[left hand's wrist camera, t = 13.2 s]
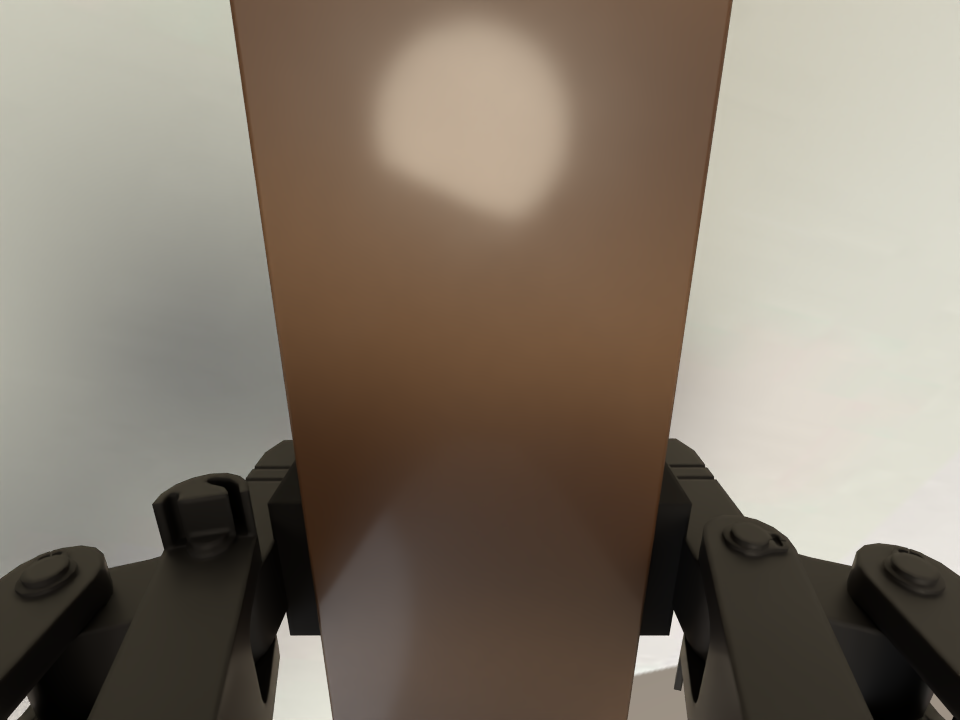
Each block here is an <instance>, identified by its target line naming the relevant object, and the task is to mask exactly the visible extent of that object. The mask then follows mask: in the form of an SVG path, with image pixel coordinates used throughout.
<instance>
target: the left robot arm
mask: <svg viewBox="0 0 960 720" xmlns="http://www.w3.org/2000/svg"><path fill="white" fill-rule="evenodd" d="M152 506H153V510H154V513H155V517H156V521H157V524H158V528H159V532H160V536H161V539H162V543H163V547H164V551H163V554H162V556H161V557H157V558H153V559H150V560H145V561H141V562H136V563H131V564H127V565H122V566H117V567H113V568H108V566H107V563H106V560H105V557H104V554H103V553H102V552H100V551H99V550H98V549H97V548H95V547H88V546H74V547H66V548H61V549H57V550H53V551H51V552H47V553H44V554H41V555H39V556H37V557H35V558H33V559H31V560H29V561H27V562H25V563H23V564H21V565H19V566H18V567H16V568H15V569H14V570H12V571H11V572H9V573H8V574H7V575H5V576H4V577H2V578H1V579H0V720H7V718H8V717H9V716H10V715H11V714H12V712H13V711H14V710H15V709H16V708H17V707H18V705H19V704H20V703H21V702H22V701H23V699H24V698H25V697H26V696H27V697H28V699H29V702H30V704H31V705H30V706H29V707H28V708H27V710H26V711H25V712H24V713H23V715H22V716H21V717H20V718H18V719H17V720H272V719H273V711H274V702H275V694H276V685H277V677H278V668H279V660H280V654H279V646H278V641H277V635H276V634H277V631H278V629H279V627H280V625H281V622H282V620H283V618H284V615H285V613H287V619H288V625H289V630H290V635H321V634H320V627H319V620H318V613H317V606H316V599H315V592H314V585H313V578H312V571H311V564H310V557H309V550H308V543H307V536H306V529H305V522H304V515H303V508H302V501H301V494H300V487H299V480H298V473H297V466H296V459H295V452H294V445H293V440H283V441H282V442H280V443H279V444H277V445H276V446H274V447H273V448H271V449H270V450H268V451H267V452H265V454H264V455H263V456H262V458H261V459H260V460H259V462H258V463H257V464H256V466H255V469H253V470H252V471H251V472H250V474H249V475H248V476H247V478H246V480H244V479H243V478H242V477H241V476H238V475H233V474H229V473H216V474H207V475H203V476H198V477H194V478H191V479H189V480H186V481H184V482H181V483H179V484H176V485H174V486H173V487H171V488H170V489H168V490H167V491H165V492H163V493H162V494H161V495H160V496H159V497H158V498H157V499H156V500H155V502H154V503H153V504H152ZM673 611H674V612H675V614H676V616H677V618H678V621H679V623H680V625H681V628H682V630H683V632H684V635H683V641H682V646H681V651H680V657H679V662H678V667H677V673H676V678H675V685H674V689H675V690H680V691H681V688H682V683H683V684H684V692H685V701H686V709H687V718H688V720H945V719H944V718H943V717H942V716H941V715H940V714H939V713H938V712H937V711H936V709H935V708H934V707H933V706H932V705H931V703H930V700H931V698H932V696H933V693H934V694H935V695H936V696H937V697H938V698H939V700H940V701H941V702H942V703H943V704H944V705H945V707H946V708H947V709H948V710H949V711H950V712H951V714H952V715H953V716H954V717H953V719H952V720H960V576H959V575H957V574H956V573H955V572H953V571H952V570H950V569H949V568H947V567H946V566H945V565H943V564H942V563H940V562H938V561H936V560H934V559H932V558H930V557H928V556H926V555H924V554H922V553H920V552H918V551H915V550H912V549H908V548H905V547H901V546H897V545H889V544H881V543H877V544H870V545H864V546H863V547H862V548H861V549H859V550H858V551H857V552H856V555H855V558H854V561H853V565H852V566H849V565H844V564H839V563H835V562H830V561H825V560H820V559H816V558H811V557H807V556H804V555H800V554H798V553H797V550H796V549H795V547H794V546H793V545H792V543H791V542H790V540H789V539H788V538H787V537H786V536H785V535H783V534H782V533H781V532H779V531H778V530H776V529H775V528H774V527H772V526H770V525H767V524H765V523H763V522H761V521H759V520H756V519H752V518H748V517H744V515H743V514H742V513H741V512H740V510H739V509H738V508H737V506H736V505H735V504H734V502H733V501H732V500H731V498H730V497H729V496H728V494H727V493H726V492H725V490H724V489H723V488H722V486H721V485H720V484H719V483H718V481H717V480H714V476H713V475H712V473H711V472H710V471H709V469H708V468H705V464H704V463H703V461H702V460H701V459H700V457H699V456H698V455H697V454H696V452H695V451H694V450H693V449H691V448H690V447H688V446H686V445H685V444H683V443H682V442H680V441H679V440H677V439H668V445H667V452H666V459H665V466H664V472H663V479H662V486H661V493H660V500H659V507H658V513H657V520H656V527H655V534H654V541H653V548H652V554H651V561H650V568H649V575H648V582H647V588H646V595H645V602H644V609H643V616H642V623H641V629H640V635H669V634H670V628H671V622H672V616H673Z"/></svg>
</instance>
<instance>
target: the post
mask: <svg viewBox="0 0 960 720" xmlns="http://www.w3.org/2000/svg"><path fill="white" fill-rule="evenodd" d="M732 2H733V0H230V5H231V12H232V19H233V26H234V33H235V40H236V47H237V54H238V61H239V68H240V75H241V82H242V89H243V96H244V103H245V110H246V117H247V124H248V131H249V138H250V145H251V152H252V159H253V166H254V173H255V180H256V187H257V194H258V201H259V208H260V215H261V222H262V229H263V236H264V243H265V250H266V257H267V264H268V271H269V278H270V285H271V292H272V299H273V306H274V313H275V320H276V327H277V334H278V341H279V348H280V354H281V361H282V368H283V375H284V382H285V389H286V396H287V403H288V410H289V417H290V424H291V431H292V438H293V445H294V452H295V459H296V466H297V473H298V480H299V487H300V494H301V501H302V508H303V515H304V522H305V529H306V536H307V543H308V550H309V557H310V564H311V571H312V578H313V585H314V592H315V599H316V606H317V613H318V620H319V627H320V634H321V641H322V648H323V655H324V662H325V669H326V676H327V683H328V690H329V697H330V704H331V711H332V718H333V720H627V718H628V711H629V704H630V698H631V691H632V684H633V677H634V670H635V663H636V657H637V650H638V643H639V636H640V629H641V623H642V616H643V609H644V602H645V595H646V588H647V582H648V575H649V568H650V561H651V554H652V548H653V541H654V534H655V527H656V520H657V513H658V507H659V500H660V493H661V486H662V479H663V472H664V466H665V459H666V452H667V445H668V438H669V432H670V425H671V418H672V411H673V404H674V397H675V391H676V384H677V377H678V370H679V363H680V357H681V350H682V343H683V336H684V329H685V322H686V316H687V309H688V302H689V295H690V288H691V282H692V275H693V268H694V261H695V254H696V247H697V241H698V234H699V227H700V220H701V213H702V206H703V200H704V193H705V186H706V179H707V172H708V166H709V159H710V152H711V145H712V138H713V131H714V125H715V118H716V111H717V104H718V97H719V91H720V84H721V77H722V70H723V63H724V56H725V50H726V43H727V36H728V29H729V22H730V16H731V9H732Z"/></svg>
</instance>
